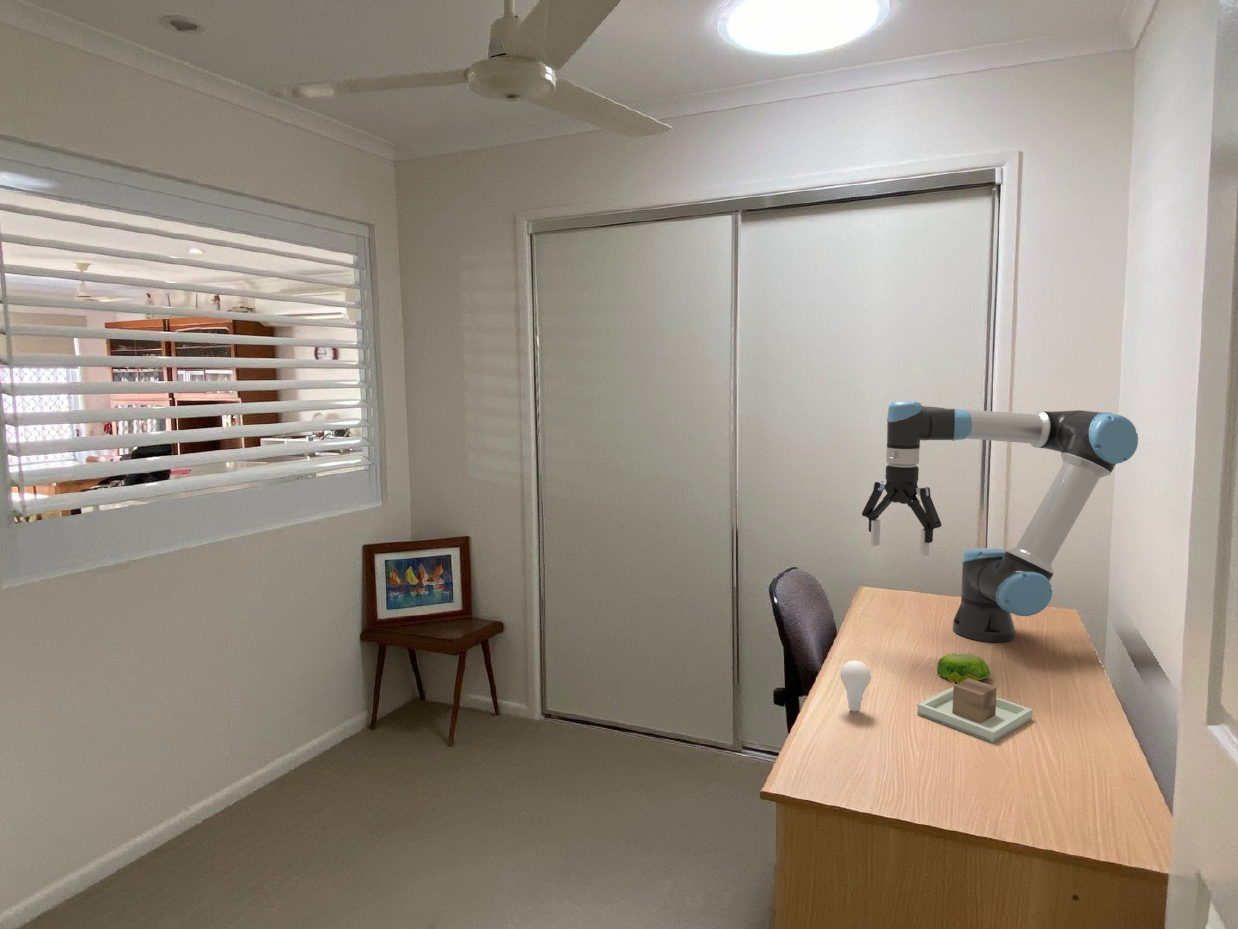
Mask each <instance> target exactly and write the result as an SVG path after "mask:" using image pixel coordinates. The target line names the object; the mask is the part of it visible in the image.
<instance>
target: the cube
mask: <svg viewBox="0 0 1238 929" xmlns="http://www.w3.org/2000/svg"><path fill="white" fill-rule="evenodd" d="M953 687H954V689H953V710H952V713H953V714H956V715H958V716H961V717H964V718H967V719H969V720H972V721H975V722H978V723H980V724H981V723H983V722H984V721H986V720H988V719H990V718H991V717H993V716H995V713H996V697H997V692H998V687H997V686H994V685H991V684H988V683H985V682H982V681H980V680H979V681H976V680H973V679H970V678H968V679H966V680H964V681H962V682H960V683H956V684H954V685H953Z"/></svg>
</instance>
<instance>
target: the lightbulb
mask: <svg viewBox="0 0 1238 929" xmlns="http://www.w3.org/2000/svg"><path fill="white" fill-rule="evenodd" d="M839 674H840V680H841V682H842V684H843V686H844V688H845V690H846V698H847V704H848V705H847V706H848V709H849V710H850V711H851V712H853V713H857V712H859V711H861V709H862V701H863V699H864V694H865V690H866V689H867V688H868V686H869V684H870V683H871V679H872V674H871V670H870V669H869V667H868V666H867V664H865V662H862V661H860V660H849V661H847V662H846V663H844V664H843V666H842V667H841V669H840V673H839Z"/></svg>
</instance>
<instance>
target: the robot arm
mask: <svg viewBox="0 0 1238 929" xmlns="http://www.w3.org/2000/svg"><path fill="white" fill-rule="evenodd" d="M886 422H887V423H886V425H887V428H886V432H887V433H886V434H887V435H886V453H885V454H886V458H885V462H886V464H888V465H886V466H885V480H886V482H884V481H881V480H880V481H875V482H874V484H873V491H872V492H871V494H870V496H869V498H868V500H867V502H866V504H865V507H864V508H863V510H862V512H861V515H862V516H863V517H865V518H867V519H868V532H869V533H870V547H877V546H879V545H880V542H881V541H880V539H881V538H880V537H881V519H879V518H880V516H881V515H882V513H883V512H885V510H886V509H887V508H888V507H889V506H890V505H891V504H892V503H895V504H896V503H899V504H903V505H905V504H907V506H908V507H909V508H910V509H911V511H912V512H913V513H914V515H915V516H916V518H917V520H918V521H919V522H920V524H921V526H922V527H923V528H921V529H920V543H919V544H920V545H919V546H920V547H919V556H920V557H922V558H923V557H926V556H929V555H930V544H932V543H933V541H934V530H935V529H939V528H941V527H942V522H941V519H940V517H939V514H938V512H937V510H936V507H935V503H934V502H933V500H932V497H931V488H930V487H928V486H926V487H918V486H919V485H918V481H919V473H920V472H919V471H920V470H919V469H920V468H919V467H918V466H917V465H918V464H920V446H921V444H920V443H921V441H953V442H954V441H960V440H962V441H963V440H965V439H969V440H983V441H996V442H1005V443H1006V442H1009V443H1010V442H1011V443H1019V444H1020V443H1022V444H1030V445H1031V447H1033V448H1036V449H1038V448H1039V449H1047V450H1052V451H1055V452H1058V453H1059V452H1060V456H1061V459H1062V465H1061V467H1060V468H1059V470H1058V472H1057V474H1056V476H1055V477H1054V479H1053V481H1052V483H1051V485H1050V486H1049V488H1048V489H1047V492H1046V493H1045V495H1044V497H1043V498H1042V501H1041V502H1040V504H1039V506H1038V508H1037V509H1036V511H1035V513H1034V514H1033V516H1032V518H1031V520H1030V522H1029V524H1028V525H1027V527H1026V528H1025V530H1024V533H1023V534H1022V536H1021V538H1020V540H1019V541H1018V543H1017V545H1016V546H1015V547H1014V548H1011V549H1002V548H988V547H985V548H984V547H982V548H981V547H980V548H979V547H978V548H977V547H976V548H969V549H966V550H965V551H964V553H963V558H962V572H961V576H962V578H961V596H960V597H961V599H960V603H959V606H958V609H957V610H956V613H955V616H954V619H953V621H952V630H953V632H954V633H955V634H957V635H959V636H961V637H963V638H967V639H970V640H974V641H980V642H986V643H1003V642H1004V643H1005V642H1009V641H1012V640H1013V639H1014V638H1015V635H1016V634H1015V633H1016V629H1015V624H1014V620H1013V617H1012V614H1013V615H1014V616H1019V617H1030V616H1034V615H1037V614H1038V613H1039V614H1040V612H1042V611H1043V610H1045V609H1046V607H1047V606H1048V605H1049V604H1050V602H1051V600H1052V597H1053V590H1052V584H1051V582H1050V581H1051V580H1052V577H1053V576H1054V573H1055V572H1054V570H1053V566H1052V564H1053V562H1054V560H1055V558H1056V556H1057V554H1058V552H1059V551H1060V549H1061V548H1062V545H1063V544H1064V542H1065V540H1066V539H1067V537H1068V535H1069V533H1070V531H1071V530H1072V529H1073V526H1074V524H1075V523H1076V521H1077V519H1078V518H1079V516H1080V514H1081V512H1082V511H1083V509H1084V507H1085V505H1086V503H1087V502H1088V500H1089V498H1090V496H1091V494H1092V493H1093V491H1094V489H1095V488H1096V485H1097V484H1098V482H1099V480H1100V479H1101V478H1104V477H1107V476H1110V475H1111V474H1112V472H1113V470H1114V469H1115V466H1116V465H1118V464H1121V463H1123V462H1126V461H1128V460H1130V459H1131V458H1132V457H1133V456H1134V455H1135V453H1136V451H1137V448H1138V444H1139V434H1138V433H1137V428H1136V426H1135V424H1134V423H1133V422H1132V421H1131V420H1130V419H1128V417H1125V416H1123V415H1121V414H1117V413H1116V414H1115V413H1112V412H1104V411H1103V412H1102V411H1101V412H1100V411H1099V412H1098V411H1089V410H1079V409H1078V410H1062V411H1059V410H1058V411H1044V410H1037V411H1035V412H1034V413H1033V414H1032V413H1022V412H1021V413H1020V412H1017V413H1016V412H1007V411H1006V412H1005V411H1004V412H1003V411H991V410H980V409H968V408H967V409H964V408H953V407H952V408H951V407H950V408H949V407H938V406H937V407H936V406H924V405H922V403H921V402H920V401H909V400H908V401H907V400H902V401H901V400H900V401H899V400H898V401H891V402H890V403H889V405H888V409H887V419H886ZM883 491H885V492H886V494H885V496H884V497H883V498H882V500H881V501H880V502H879V500H880V498H881V497H882V494H883ZM917 495H918V496H919V497H920V499H918V497H917ZM878 502H879V504H878ZM920 502H921V503H920ZM921 504H922V505H921Z"/></svg>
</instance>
